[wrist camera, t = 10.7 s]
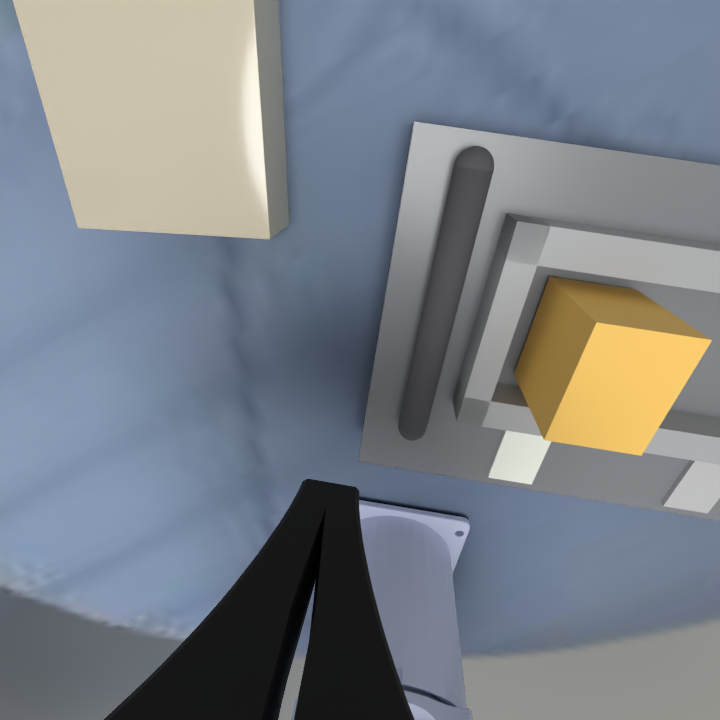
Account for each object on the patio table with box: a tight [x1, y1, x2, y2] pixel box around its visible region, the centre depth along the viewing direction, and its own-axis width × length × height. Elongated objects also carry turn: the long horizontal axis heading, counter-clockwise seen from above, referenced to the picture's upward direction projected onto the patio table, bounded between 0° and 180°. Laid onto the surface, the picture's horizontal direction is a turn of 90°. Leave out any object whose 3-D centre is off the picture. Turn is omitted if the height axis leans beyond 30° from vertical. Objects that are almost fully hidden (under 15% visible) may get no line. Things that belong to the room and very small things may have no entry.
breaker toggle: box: [514, 277, 712, 456], centre depth 13 cm, size 4×3×4 cm
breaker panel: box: [358, 122, 720, 521], centre depth 16 cm, size 14×22×4 cm, turn 83°
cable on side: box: [398, 146, 494, 441], centre depth 15 cm, size 11×1×1 cm, turn 173°
